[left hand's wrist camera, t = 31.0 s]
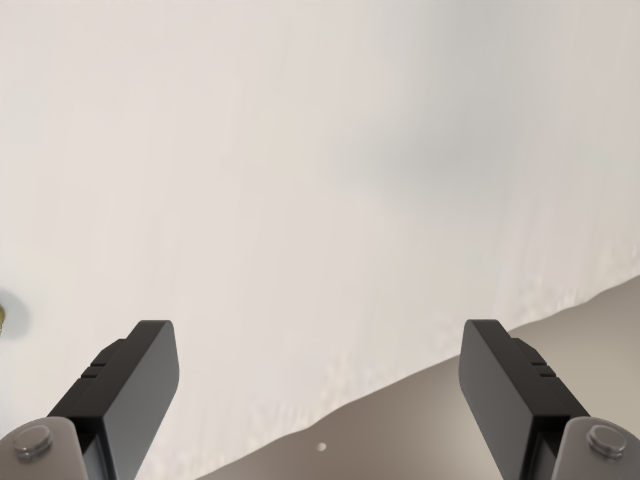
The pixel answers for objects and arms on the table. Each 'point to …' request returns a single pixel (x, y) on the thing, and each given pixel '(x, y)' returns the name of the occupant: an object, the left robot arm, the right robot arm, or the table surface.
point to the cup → (1, 318)
